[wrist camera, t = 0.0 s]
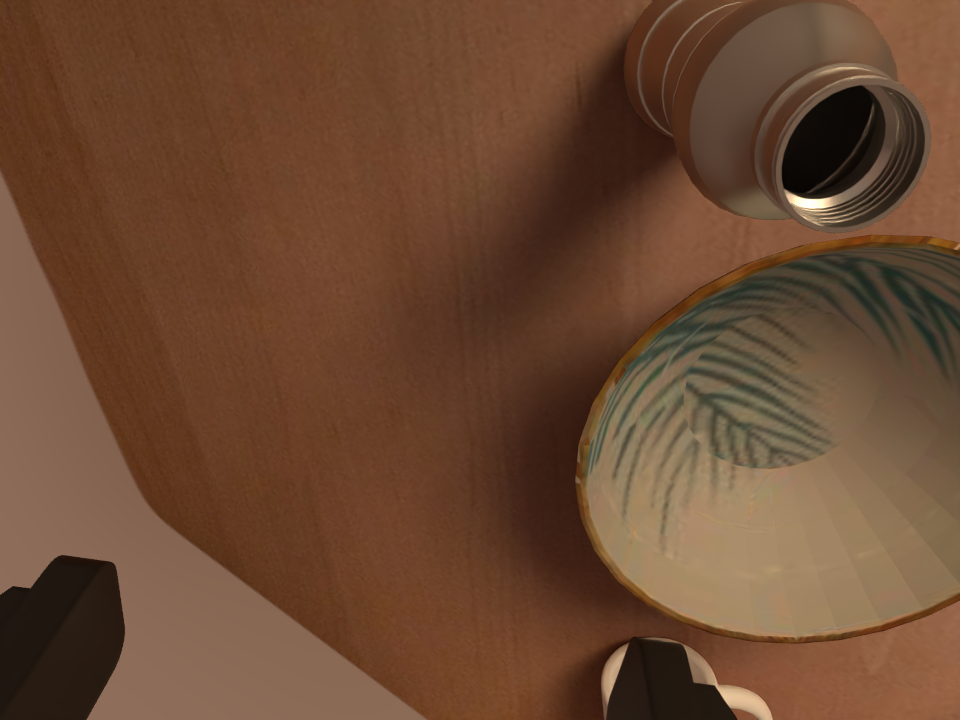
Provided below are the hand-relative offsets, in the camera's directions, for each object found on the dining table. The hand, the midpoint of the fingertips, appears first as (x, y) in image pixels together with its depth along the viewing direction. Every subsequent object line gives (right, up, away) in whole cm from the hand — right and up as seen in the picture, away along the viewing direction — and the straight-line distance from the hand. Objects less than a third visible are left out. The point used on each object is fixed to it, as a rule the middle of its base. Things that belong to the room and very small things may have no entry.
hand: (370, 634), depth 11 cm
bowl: (+20, +3, +32) cm, 38 cm away
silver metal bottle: (+12, +19, +24) cm, 32 cm away
